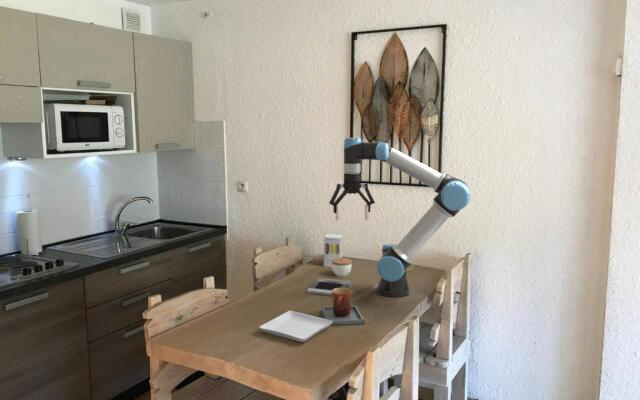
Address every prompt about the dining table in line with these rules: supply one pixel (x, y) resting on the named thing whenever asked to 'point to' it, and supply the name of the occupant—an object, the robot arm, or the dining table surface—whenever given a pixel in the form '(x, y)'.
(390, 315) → the dining table surface
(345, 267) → the lidded jar
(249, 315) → the dining table surface
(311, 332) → the salad plate
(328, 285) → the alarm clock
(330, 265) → the supplement box
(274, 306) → the dining table surface
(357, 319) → the rest tray
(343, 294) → the mug
